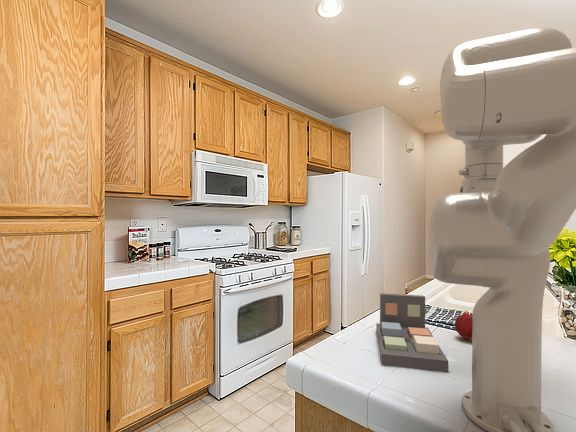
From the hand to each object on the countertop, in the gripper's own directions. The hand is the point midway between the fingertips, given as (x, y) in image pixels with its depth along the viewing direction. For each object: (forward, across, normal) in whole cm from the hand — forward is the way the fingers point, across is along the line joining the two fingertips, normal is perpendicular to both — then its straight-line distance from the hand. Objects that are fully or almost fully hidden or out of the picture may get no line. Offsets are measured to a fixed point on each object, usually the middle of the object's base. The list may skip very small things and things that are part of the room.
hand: (482, 251), depth 71 cm
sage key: (+25, -20, -1) cm, 32 cm away
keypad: (+26, -16, +3) cm, 31 cm away
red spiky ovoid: (+26, +1, +12) cm, 29 cm away
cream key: (+24, -13, -2) cm, 27 cm away
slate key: (+24, -20, +7) cm, 32 cm away
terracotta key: (+25, -13, +6) cm, 28 cm away
